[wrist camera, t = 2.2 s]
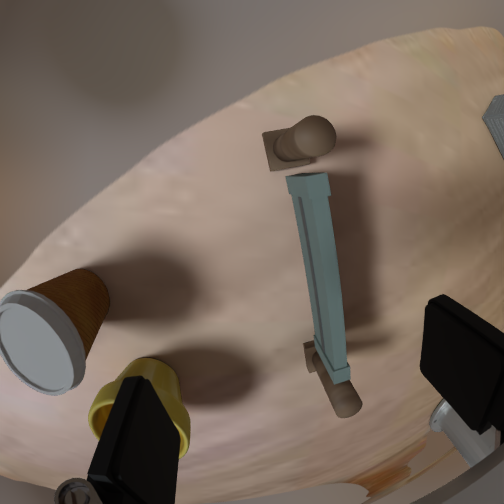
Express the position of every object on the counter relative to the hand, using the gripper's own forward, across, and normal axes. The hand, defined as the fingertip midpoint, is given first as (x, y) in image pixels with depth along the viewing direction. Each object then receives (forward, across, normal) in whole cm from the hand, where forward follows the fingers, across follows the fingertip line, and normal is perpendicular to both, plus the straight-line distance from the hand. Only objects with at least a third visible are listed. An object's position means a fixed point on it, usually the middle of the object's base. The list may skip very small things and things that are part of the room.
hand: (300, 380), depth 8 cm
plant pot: (+21, +15, +14) cm, 29 cm away
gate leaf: (+19, -5, +4) cm, 20 cm away
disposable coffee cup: (+21, +19, +2) cm, 28 cm away
